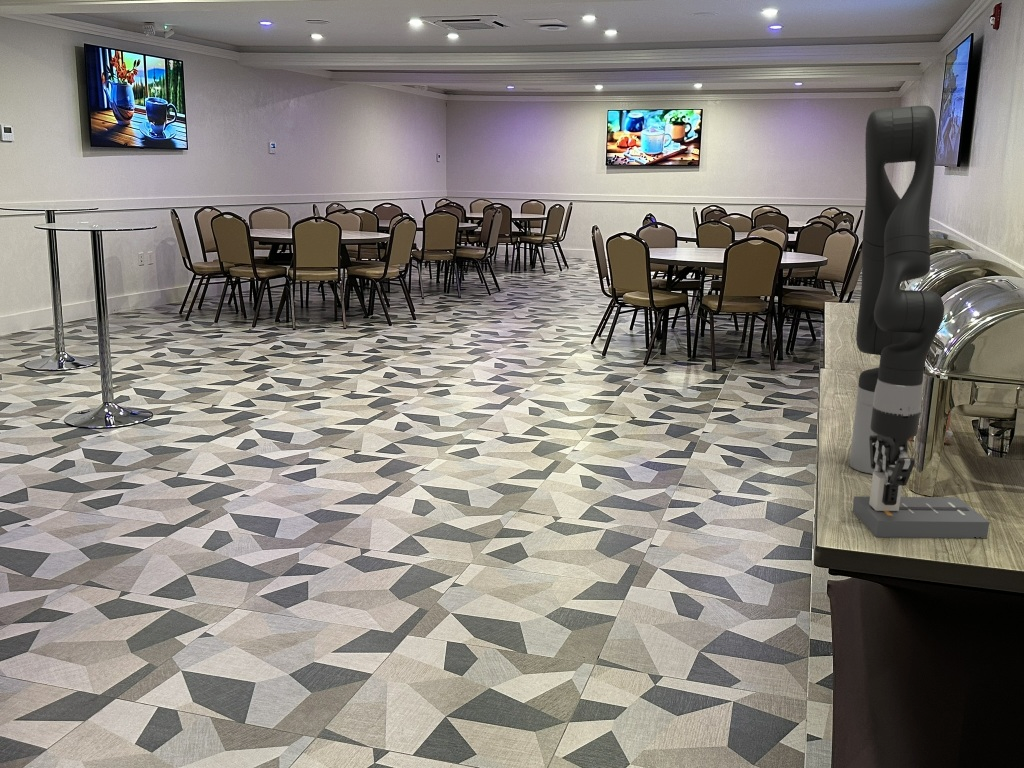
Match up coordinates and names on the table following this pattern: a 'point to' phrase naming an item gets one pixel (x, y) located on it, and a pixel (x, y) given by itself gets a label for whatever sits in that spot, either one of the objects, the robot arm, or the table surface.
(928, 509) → the console
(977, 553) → the table surface
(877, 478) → the fader
